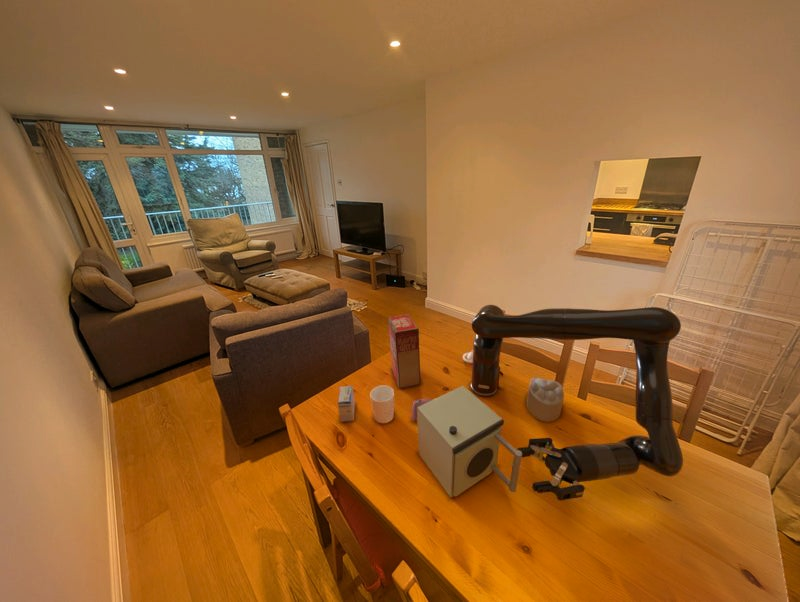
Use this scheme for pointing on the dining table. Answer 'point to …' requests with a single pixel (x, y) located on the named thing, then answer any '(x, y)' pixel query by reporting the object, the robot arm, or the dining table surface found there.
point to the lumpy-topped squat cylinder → (545, 399)
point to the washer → (452, 430)
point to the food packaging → (404, 350)
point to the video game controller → (417, 404)
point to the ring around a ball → (468, 357)
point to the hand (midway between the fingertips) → (524, 469)
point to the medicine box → (346, 403)
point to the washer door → (484, 463)
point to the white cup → (382, 403)
